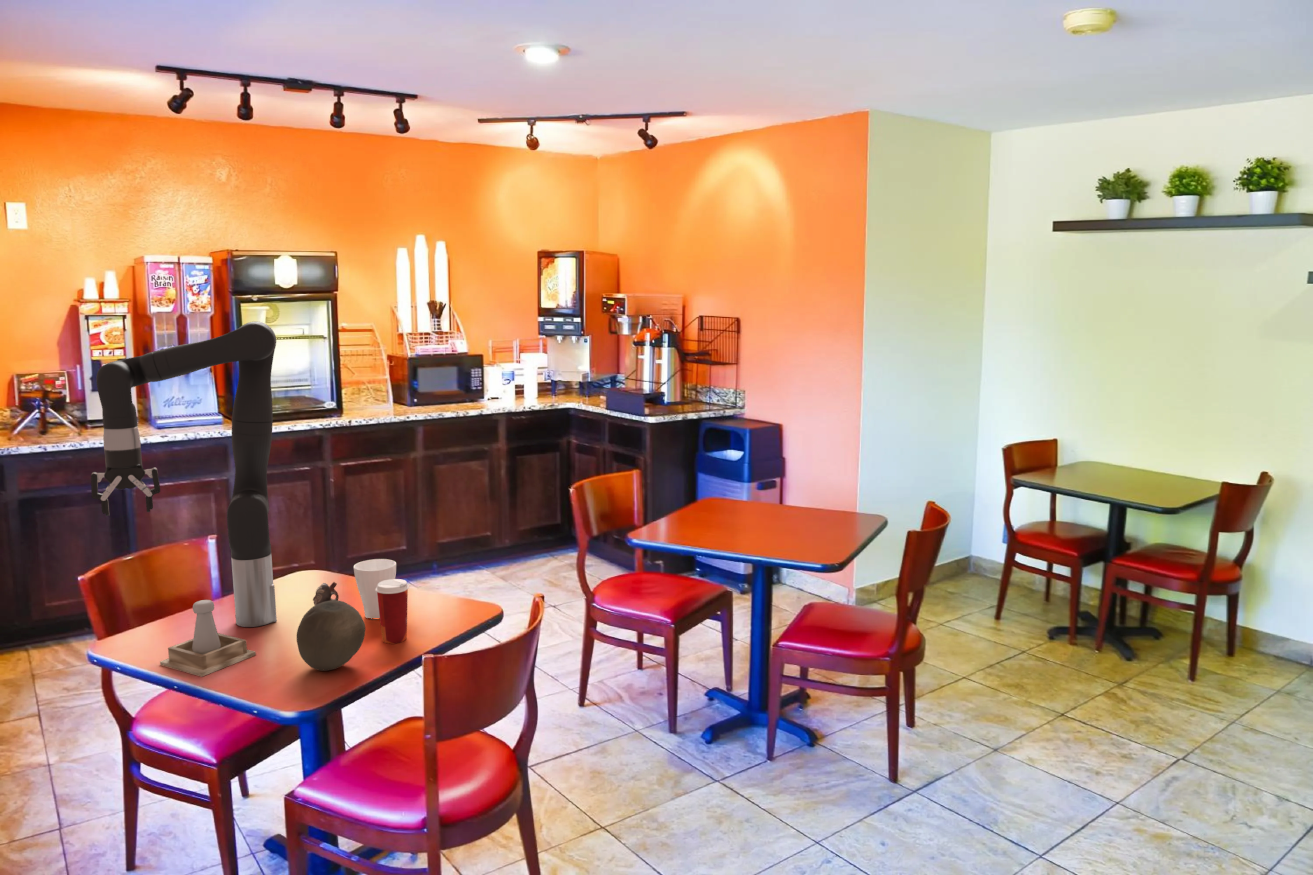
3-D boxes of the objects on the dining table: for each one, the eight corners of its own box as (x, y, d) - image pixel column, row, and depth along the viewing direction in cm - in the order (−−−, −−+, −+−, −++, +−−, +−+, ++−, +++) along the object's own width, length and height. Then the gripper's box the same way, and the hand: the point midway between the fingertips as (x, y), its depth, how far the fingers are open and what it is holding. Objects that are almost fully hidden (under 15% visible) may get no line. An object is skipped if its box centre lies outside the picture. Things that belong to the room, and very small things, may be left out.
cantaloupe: (306, 686, 199) (302, 618, 197) (292, 663, 211) (288, 599, 209) (373, 671, 207) (370, 606, 204) (356, 651, 219) (353, 588, 216)
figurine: (311, 627, 234) (308, 580, 232) (341, 623, 237) (339, 577, 235) (313, 637, 228) (310, 589, 226) (344, 632, 230) (341, 585, 228)
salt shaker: (209, 662, 210) (205, 606, 208) (187, 660, 211) (182, 604, 209) (226, 652, 215) (222, 598, 213) (204, 650, 217) (200, 596, 215)
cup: (407, 613, 244) (405, 562, 242) (375, 625, 235) (372, 573, 233) (379, 606, 250) (376, 556, 248) (347, 617, 241) (344, 566, 239)
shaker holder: (215, 644, 223) (213, 628, 222) (255, 654, 216) (254, 639, 216) (160, 664, 211) (158, 648, 210) (201, 676, 204) (200, 660, 204)
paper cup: (417, 636, 228) (415, 580, 226) (396, 647, 221) (394, 589, 219) (392, 631, 231) (389, 576, 229) (370, 642, 224) (367, 585, 222)
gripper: (86, 451, 216) (93, 520, 218) (156, 446, 222) (162, 513, 225) (88, 446, 222) (94, 513, 225) (156, 441, 229) (161, 507, 232)
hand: (128, 513), depth 225 cm, fingers open, 8 cm apart
